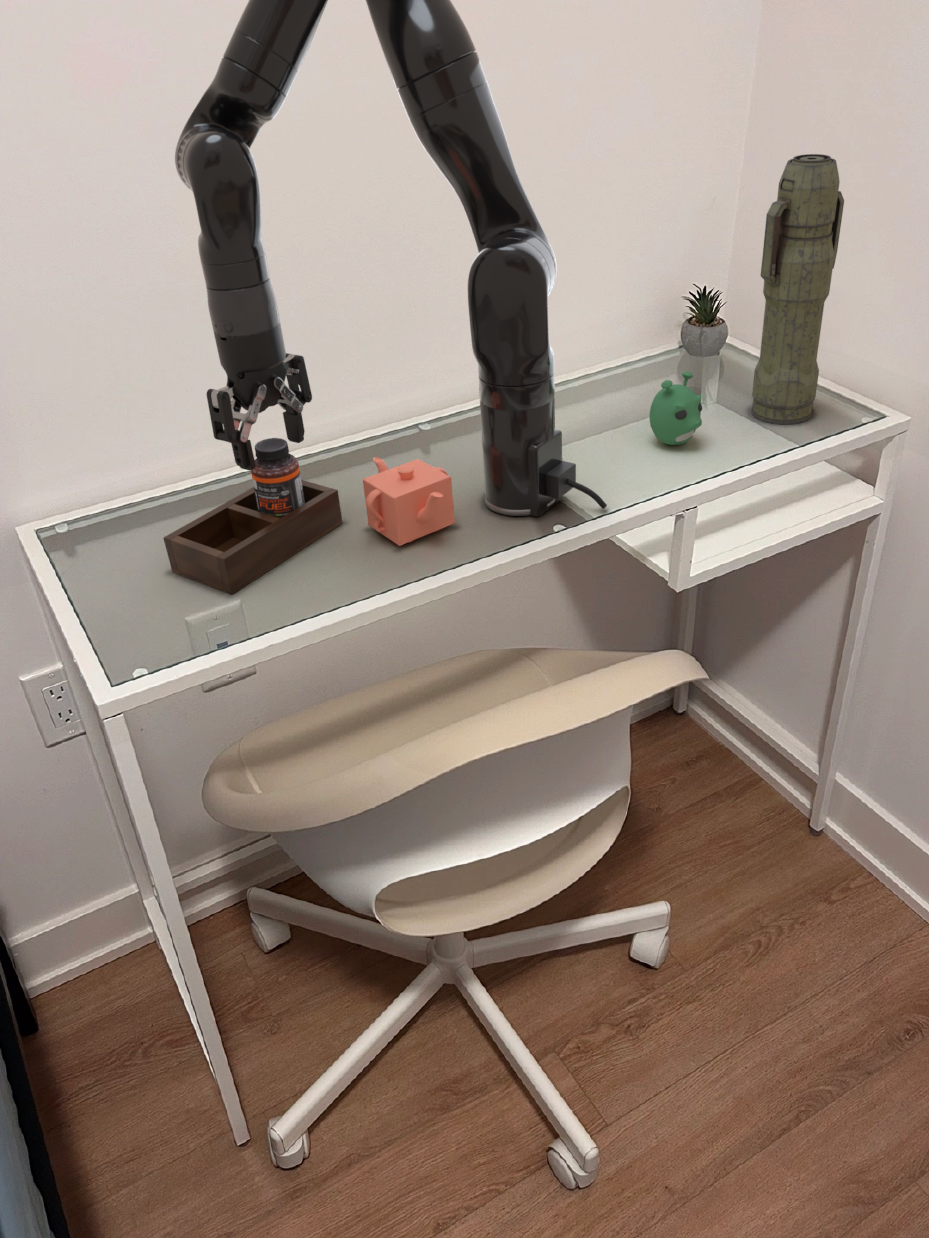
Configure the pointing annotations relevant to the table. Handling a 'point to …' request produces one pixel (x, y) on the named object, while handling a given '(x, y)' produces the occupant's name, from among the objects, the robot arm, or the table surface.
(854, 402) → the table surface
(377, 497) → the teapot
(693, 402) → the alien toy
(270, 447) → the supplement bottle
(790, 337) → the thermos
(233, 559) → the organizer
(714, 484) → the table surface
